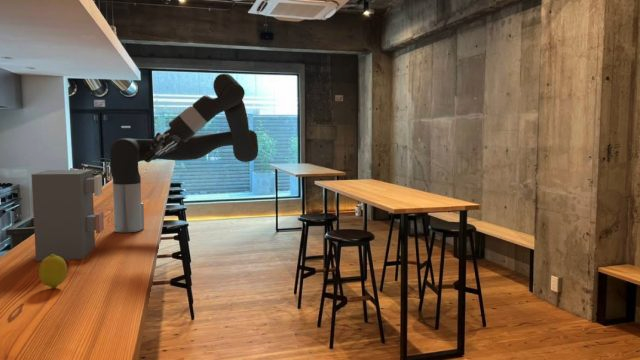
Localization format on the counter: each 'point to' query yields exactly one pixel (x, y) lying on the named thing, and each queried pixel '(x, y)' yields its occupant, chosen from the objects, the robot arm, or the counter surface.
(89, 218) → the lower plunger
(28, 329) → the counter surface
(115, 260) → the counter surface
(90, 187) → the upper plunger
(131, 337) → the counter surface
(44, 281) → the lemon
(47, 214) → the grey dispenser box
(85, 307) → the counter surface
